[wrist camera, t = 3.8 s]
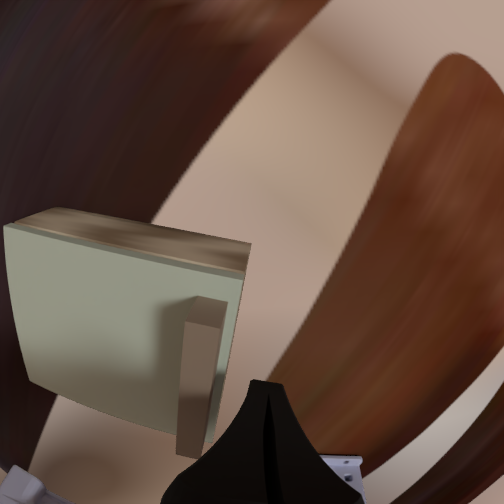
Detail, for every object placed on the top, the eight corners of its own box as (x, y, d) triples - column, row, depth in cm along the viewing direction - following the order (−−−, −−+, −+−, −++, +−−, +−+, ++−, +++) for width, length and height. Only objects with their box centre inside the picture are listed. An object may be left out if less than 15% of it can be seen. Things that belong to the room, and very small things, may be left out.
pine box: (251, 243, 17) (244, 271, 13) (223, 387, 20) (214, 431, 16) (57, 206, 17) (14, 221, 13) (65, 342, 20) (36, 372, 16)
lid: (244, 274, 12) (237, 305, 10) (213, 435, 16) (206, 471, 13) (11, 223, 12) (-24, 237, 10) (34, 375, 16) (13, 399, 13)
